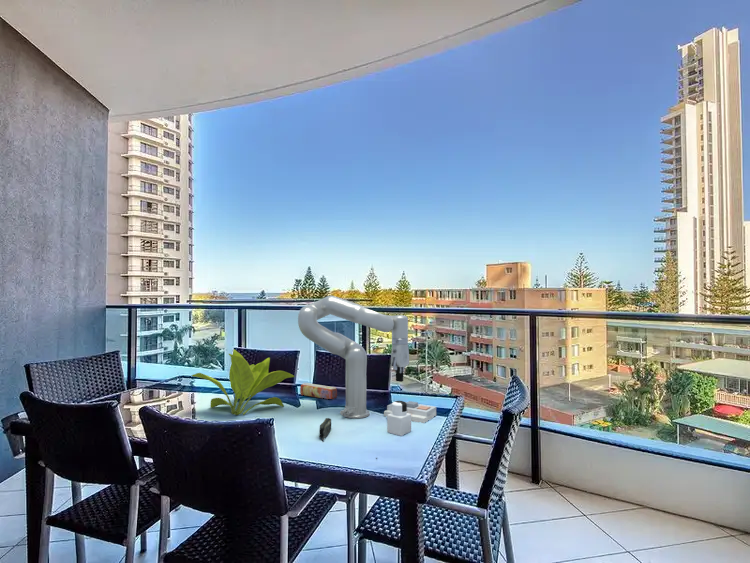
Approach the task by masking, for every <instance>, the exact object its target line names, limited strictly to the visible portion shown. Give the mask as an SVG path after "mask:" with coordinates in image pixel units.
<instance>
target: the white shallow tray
mask: <svg viewBox="0 0 750 563" xmlns="http://www.w3.org/2000/svg"><path fill="white" fill-rule="evenodd" d="M405 402H406V403H407V402H408V401H405ZM420 406H426V407H430V409H428V410H421V409H417V408H418V407H420ZM418 407H416V408H409V407H407V413H409V414H411V422H415V423H419V422H421V423H420V424H425V422H426V423H427V422H428V420H429V421H430V420H432V419H433V418H435V417H436V416H437V406H434V405H427V404H420V403H418ZM390 413H392V403H390V404H388V405H386V410H384V411H383V417H387V415H388V414H390ZM434 416H435V417H434Z"/></svg>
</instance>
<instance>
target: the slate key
mask: <svg viewBox="0 0 750 563" xmlns="http://www.w3.org/2000/svg"><path fill="white" fill-rule="evenodd" d="M406 402H407V407H409V408H416V407H418V404H419V402H417V401H411V400H409V401H406Z"/></svg>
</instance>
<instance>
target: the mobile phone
mask: <svg viewBox="0 0 750 563" xmlns="http://www.w3.org/2000/svg"><path fill="white" fill-rule="evenodd" d="M331 431H332V419H331V418H330V417H326V418H325V419H324V421H323V422H322V423H321V424H319V433H318V434H319V439H321V438H322V440H324V441H325V439H324V438H326V437H327V436H328V435H329V433H330V432H331ZM322 440H321V441H322Z"/></svg>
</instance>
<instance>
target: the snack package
mask: <svg viewBox="0 0 750 563" xmlns="http://www.w3.org/2000/svg"><path fill="white" fill-rule="evenodd" d="M299 388H300V389H299V390H300V391H299V392H300V395H301V396H303V395H304V396H303V397H311V398H318V399H323V398H324V399H325V400H328V399H333V400H335V399H337V397H338V389H337V387H336V386H328V385H324V384H323V385H322V384H315V383H310V382H303V383H301V385H300V387H299ZM334 398H335V399H334Z"/></svg>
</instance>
